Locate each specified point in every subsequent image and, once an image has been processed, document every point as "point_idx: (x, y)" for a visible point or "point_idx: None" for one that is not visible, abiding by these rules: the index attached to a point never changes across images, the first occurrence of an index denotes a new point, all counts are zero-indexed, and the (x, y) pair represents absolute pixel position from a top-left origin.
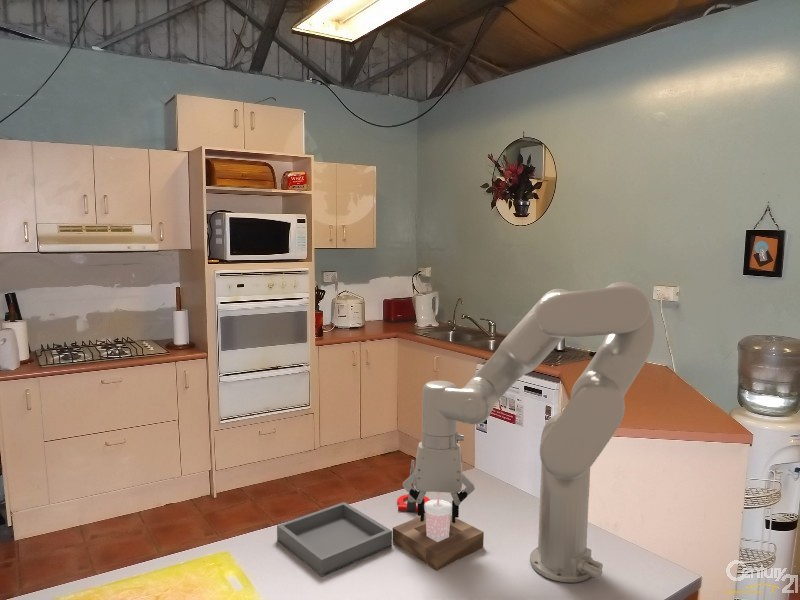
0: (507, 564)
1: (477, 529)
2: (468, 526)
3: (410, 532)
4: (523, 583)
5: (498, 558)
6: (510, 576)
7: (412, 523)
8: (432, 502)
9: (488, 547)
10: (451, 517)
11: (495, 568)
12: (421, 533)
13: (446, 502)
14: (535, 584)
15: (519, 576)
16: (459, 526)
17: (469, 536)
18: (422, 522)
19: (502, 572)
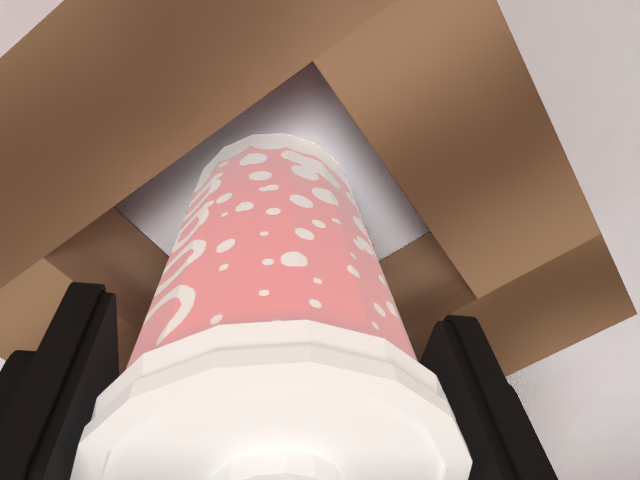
0: (608, 377)
1: (612, 282)
2: (565, 238)
3: (22, 312)
4: (589, 471)
5: (596, 336)
6: (566, 441)
7: (7, 161)
8: (200, 418)
9: (607, 240)
10: (475, 49)
11: (533, 401)
12: (125, 327)
13: (421, 420)
14: (630, 474)
15: (603, 441)
16: (486, 234)
17: (500, 363)
18: (121, 145)
19: (548, 422)
